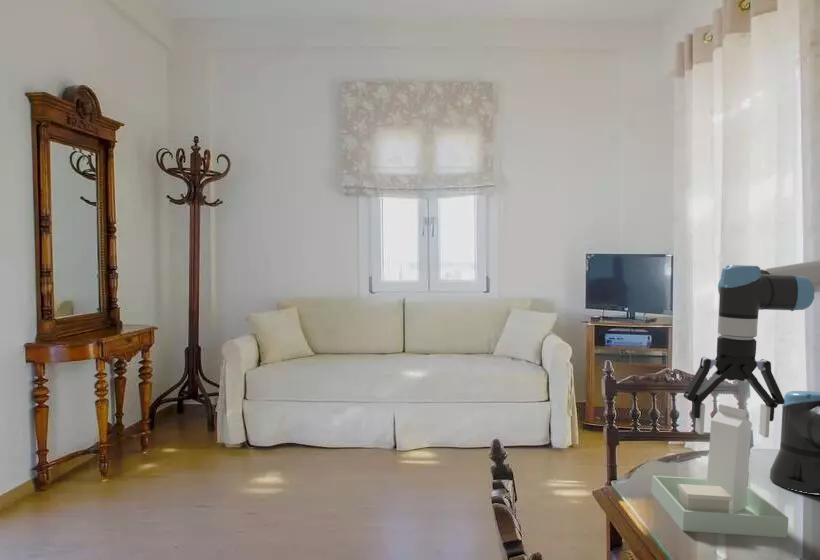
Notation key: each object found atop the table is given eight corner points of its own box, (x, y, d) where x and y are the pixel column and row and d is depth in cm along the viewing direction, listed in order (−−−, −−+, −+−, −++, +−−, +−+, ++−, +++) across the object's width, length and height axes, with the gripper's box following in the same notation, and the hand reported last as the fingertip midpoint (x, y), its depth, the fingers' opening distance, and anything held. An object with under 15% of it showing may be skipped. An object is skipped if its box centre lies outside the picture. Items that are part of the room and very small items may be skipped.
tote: (740, 500, 146) (742, 480, 145) (786, 540, 126) (788, 518, 125) (650, 494, 147) (652, 475, 147) (682, 533, 127) (683, 511, 127)
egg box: (718, 518, 134) (720, 486, 133) (729, 530, 128) (732, 496, 128) (675, 515, 134) (677, 483, 134) (685, 527, 128) (687, 494, 128)
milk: (732, 515, 136) (739, 412, 134) (704, 504, 141) (711, 405, 139) (746, 508, 139) (753, 408, 138) (719, 499, 144) (725, 402, 143)
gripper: (787, 336, 141) (781, 431, 142) (671, 332, 142) (666, 426, 144) (806, 341, 133) (800, 442, 135) (683, 337, 135) (678, 436, 136)
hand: (731, 434), depth 139 cm, fingers open, 13 cm apart
